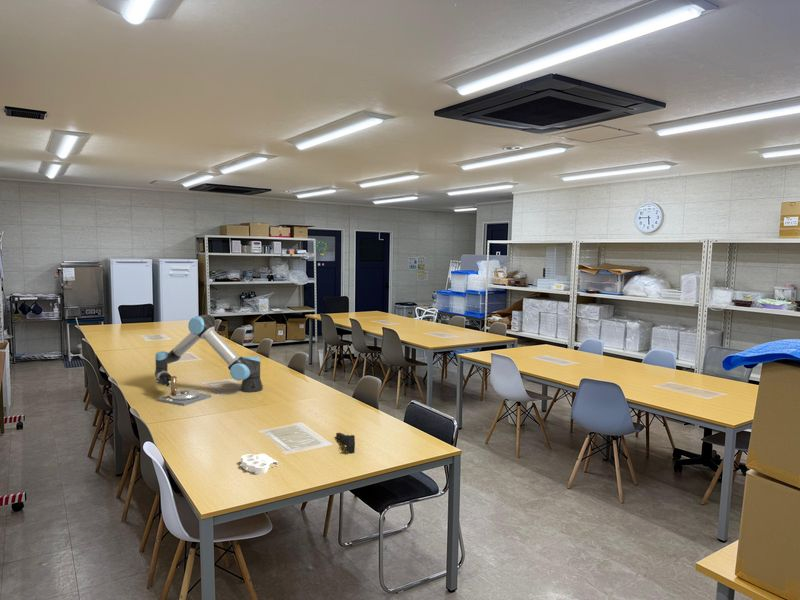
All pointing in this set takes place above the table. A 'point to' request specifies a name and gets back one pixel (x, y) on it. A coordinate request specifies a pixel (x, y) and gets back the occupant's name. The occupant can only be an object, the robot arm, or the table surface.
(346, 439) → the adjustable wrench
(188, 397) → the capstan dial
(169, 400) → the stand plate
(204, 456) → the table surface
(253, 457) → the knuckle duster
